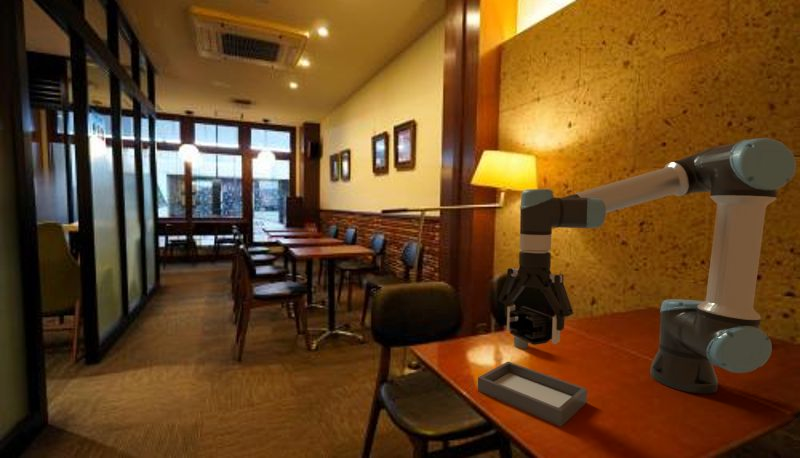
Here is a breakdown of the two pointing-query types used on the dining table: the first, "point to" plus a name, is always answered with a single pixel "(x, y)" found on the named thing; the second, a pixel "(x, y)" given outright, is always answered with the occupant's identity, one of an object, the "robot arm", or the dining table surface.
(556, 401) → the shallow grey tray
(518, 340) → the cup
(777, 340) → the dining table surface
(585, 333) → the dining table surface
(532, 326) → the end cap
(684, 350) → the robot arm
